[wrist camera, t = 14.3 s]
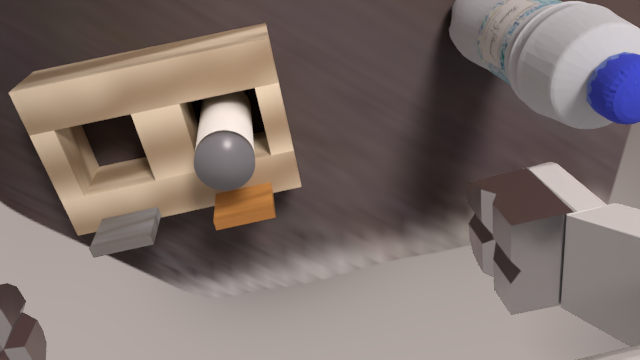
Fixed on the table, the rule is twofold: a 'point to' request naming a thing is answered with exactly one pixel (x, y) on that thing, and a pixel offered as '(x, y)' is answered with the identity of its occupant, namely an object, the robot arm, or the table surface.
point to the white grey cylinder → (225, 142)
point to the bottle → (556, 56)
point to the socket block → (156, 135)
